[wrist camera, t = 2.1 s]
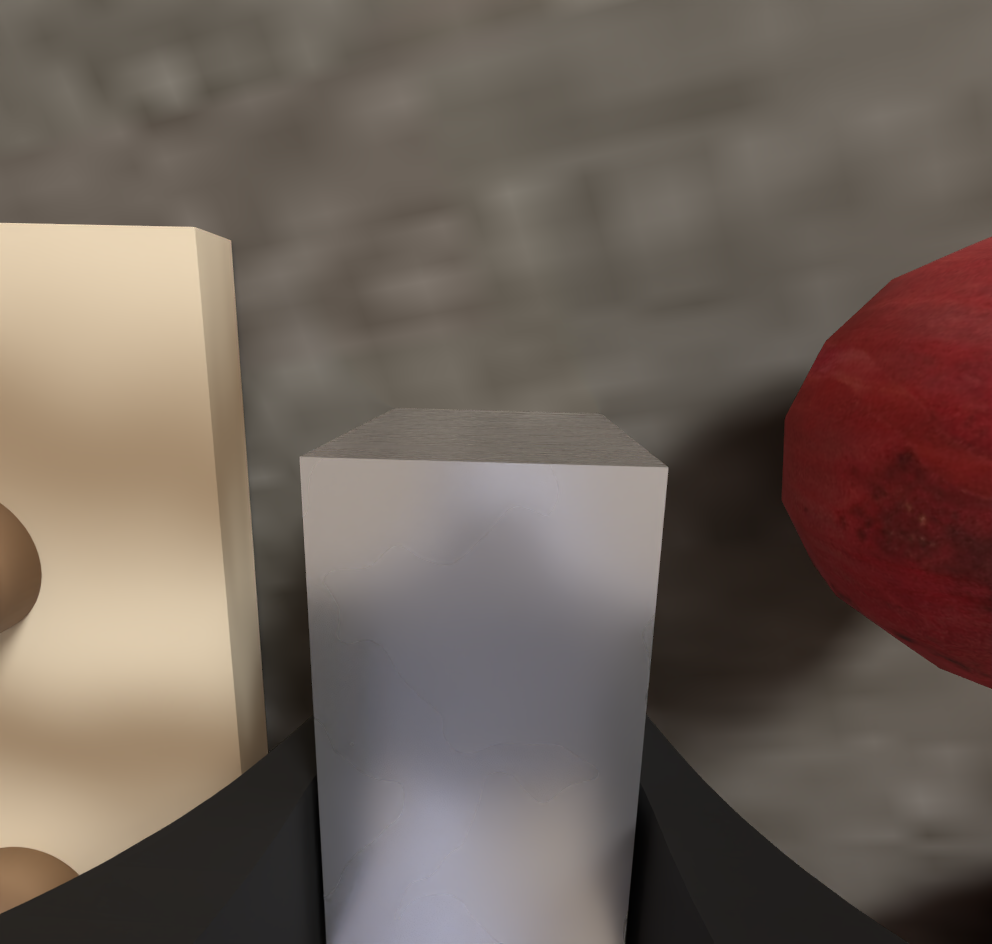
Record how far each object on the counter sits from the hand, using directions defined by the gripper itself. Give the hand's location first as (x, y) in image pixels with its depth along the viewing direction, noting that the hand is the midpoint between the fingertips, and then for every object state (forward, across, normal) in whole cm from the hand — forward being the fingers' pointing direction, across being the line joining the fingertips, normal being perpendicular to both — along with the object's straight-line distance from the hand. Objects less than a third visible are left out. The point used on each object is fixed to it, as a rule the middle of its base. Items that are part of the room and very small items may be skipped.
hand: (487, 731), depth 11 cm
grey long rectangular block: (+2, 0, 0) cm, 2 cm away
